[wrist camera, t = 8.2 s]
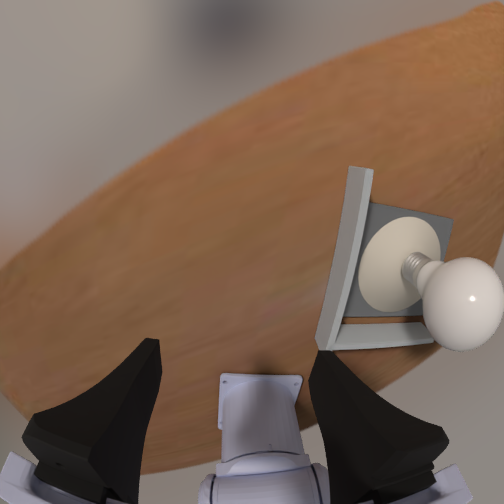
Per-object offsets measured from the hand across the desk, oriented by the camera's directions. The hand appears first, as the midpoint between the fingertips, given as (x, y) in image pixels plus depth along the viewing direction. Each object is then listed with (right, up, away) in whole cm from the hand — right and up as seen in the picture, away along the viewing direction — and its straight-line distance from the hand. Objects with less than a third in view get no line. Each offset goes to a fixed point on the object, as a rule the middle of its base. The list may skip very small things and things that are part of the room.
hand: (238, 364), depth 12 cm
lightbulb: (+14, +4, +10) cm, 18 cm away
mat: (+14, +4, +11) cm, 18 cm away
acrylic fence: (+13, +4, +10) cm, 17 cm away
